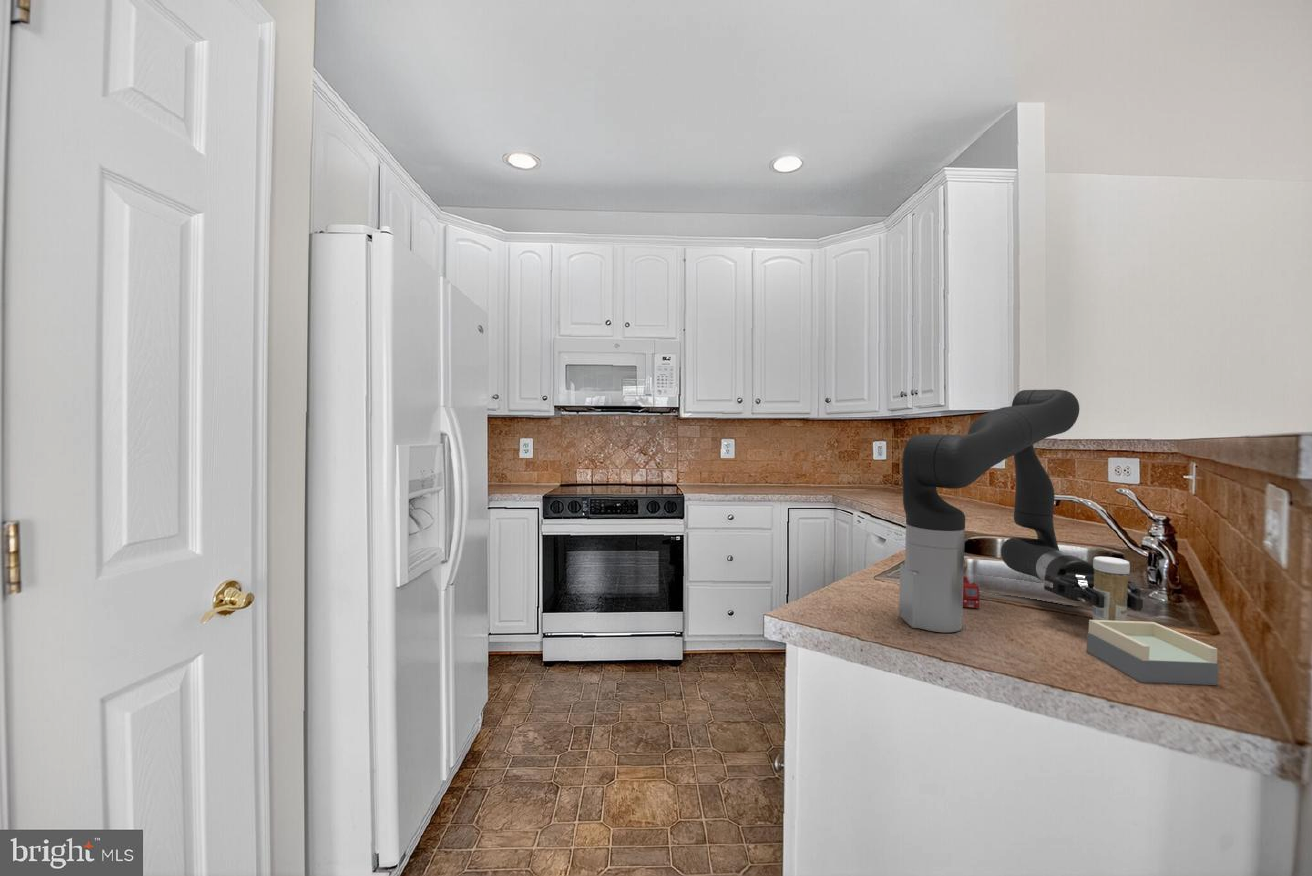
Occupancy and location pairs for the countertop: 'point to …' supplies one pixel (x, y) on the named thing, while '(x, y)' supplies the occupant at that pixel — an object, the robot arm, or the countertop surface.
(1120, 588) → the sprinkles bottle
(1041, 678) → the countertop surface
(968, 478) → the robot arm
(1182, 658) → the shallow square tray
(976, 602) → the toy fire truck
